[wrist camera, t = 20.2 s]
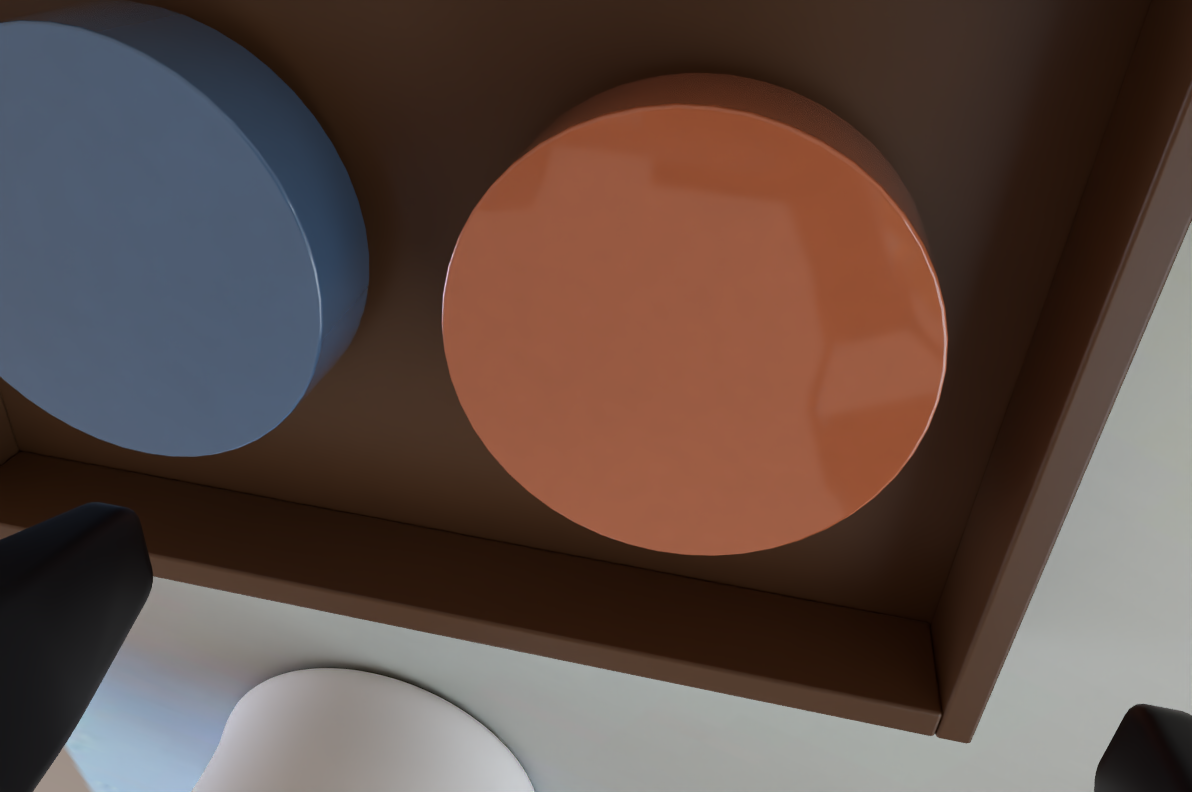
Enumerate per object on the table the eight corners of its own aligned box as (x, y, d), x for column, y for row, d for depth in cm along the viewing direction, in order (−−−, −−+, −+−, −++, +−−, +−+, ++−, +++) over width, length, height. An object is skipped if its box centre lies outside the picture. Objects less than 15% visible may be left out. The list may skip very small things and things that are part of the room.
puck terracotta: (987, 92, 13) (1019, 142, 11) (874, 500, 16) (882, 594, 14) (490, 37, 14) (433, 72, 12) (488, 433, 17) (445, 513, 15)
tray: (1247, -161, 11) (1354, -157, 9) (952, 631, 18) (971, 746, 16) (-211, -269, 14) (-411, -287, 12) (19, 454, 21) (-79, 530, 19)
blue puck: (371, 18, 14) (295, 50, 12) (395, 414, 18) (340, 490, 16) (-47, -29, 15) (-183, -6, 13) (58, 356, 19) (-34, 421, 17)
